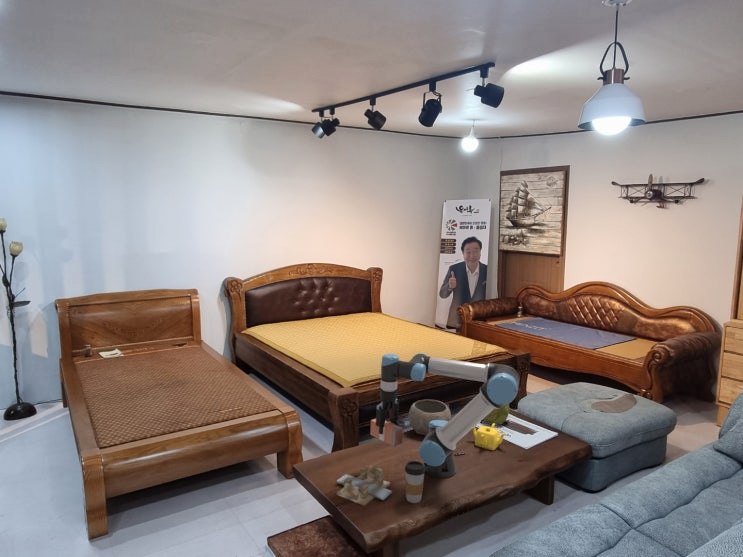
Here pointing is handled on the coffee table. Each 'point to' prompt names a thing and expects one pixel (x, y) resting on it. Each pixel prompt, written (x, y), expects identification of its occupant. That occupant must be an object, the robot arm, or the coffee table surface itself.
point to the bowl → (427, 414)
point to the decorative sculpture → (498, 415)
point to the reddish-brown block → (388, 432)
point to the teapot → (487, 437)
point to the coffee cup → (414, 481)
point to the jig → (364, 486)
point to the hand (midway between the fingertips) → (386, 438)
